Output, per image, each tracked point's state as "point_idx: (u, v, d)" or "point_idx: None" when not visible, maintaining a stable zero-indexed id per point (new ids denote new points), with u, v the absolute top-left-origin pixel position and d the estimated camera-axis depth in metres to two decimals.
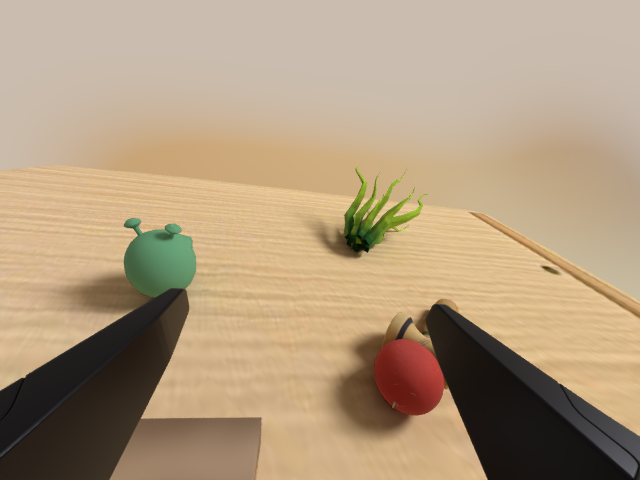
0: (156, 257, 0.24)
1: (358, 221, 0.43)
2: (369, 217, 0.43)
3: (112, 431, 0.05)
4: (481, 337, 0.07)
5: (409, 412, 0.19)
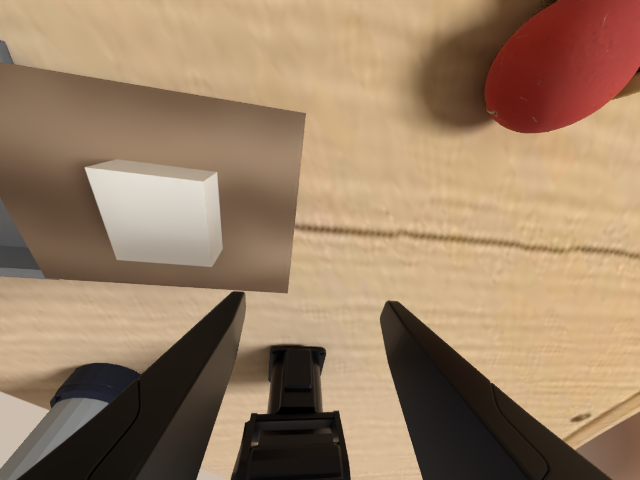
0: None
1: None
2: None
3: (202, 429, 0.05)
4: (423, 335, 0.07)
5: (504, 126, 0.14)
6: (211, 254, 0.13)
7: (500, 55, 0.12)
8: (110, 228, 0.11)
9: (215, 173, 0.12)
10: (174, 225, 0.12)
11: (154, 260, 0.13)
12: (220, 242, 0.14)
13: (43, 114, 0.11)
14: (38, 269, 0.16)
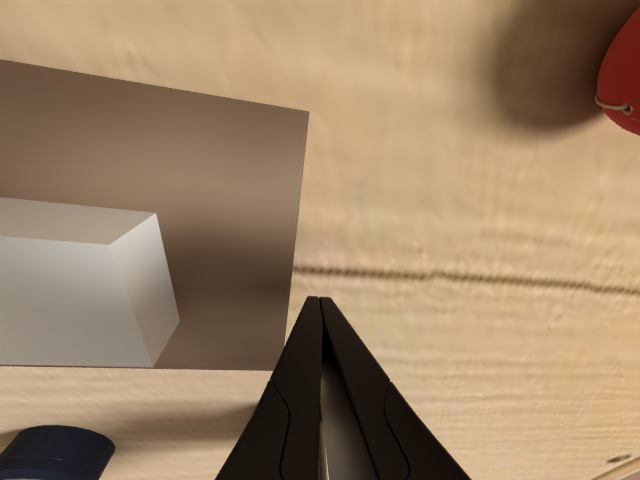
0: None
1: None
2: None
3: None
4: (340, 331, 0.06)
5: (633, 130, 0.09)
6: (150, 349, 0.08)
7: None
8: None
9: (151, 216, 0.07)
10: (72, 314, 0.06)
11: (51, 362, 0.07)
12: (173, 315, 0.09)
13: None
14: None
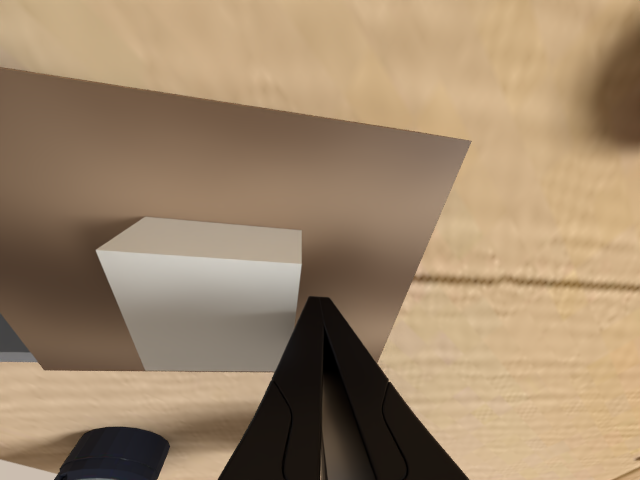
0: None
1: None
2: None
3: None
4: (339, 331, 0.06)
5: None
6: None
7: None
8: (137, 333, 0.07)
9: (301, 234, 0.08)
10: (241, 325, 0.07)
11: (203, 368, 0.08)
12: None
13: (34, 152, 0.06)
14: None
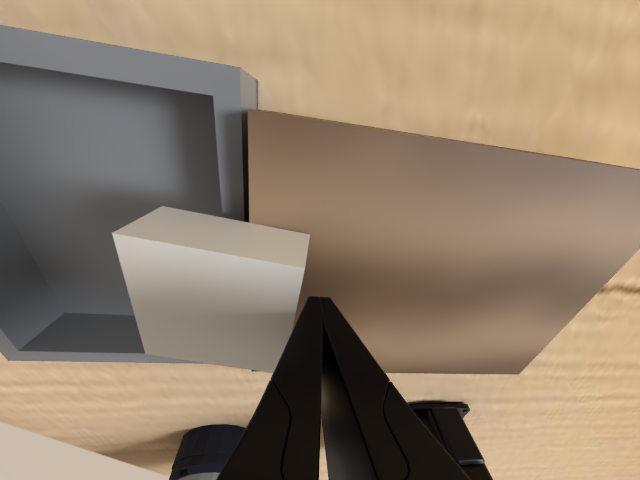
0: None
1: None
2: None
3: None
4: (339, 331, 0.06)
5: None
6: None
7: None
8: (142, 316, 0.07)
9: (309, 238, 0.08)
10: (240, 321, 0.07)
11: (200, 359, 0.08)
12: None
13: (366, 192, 0.07)
14: None
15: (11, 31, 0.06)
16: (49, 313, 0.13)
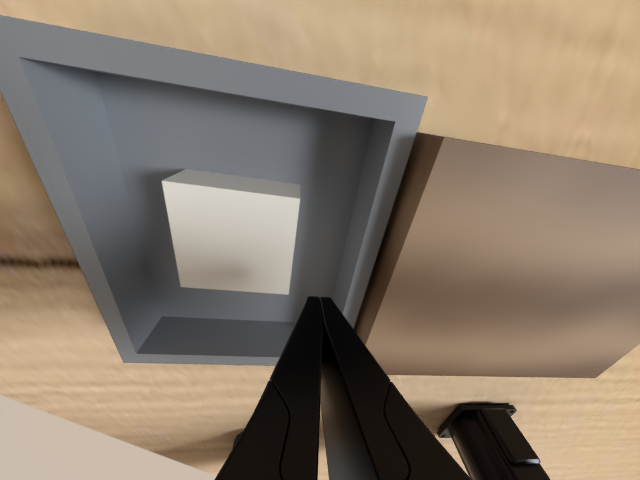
0: None
1: None
2: None
3: None
4: (340, 331, 0.06)
5: None
6: None
7: None
8: None
9: (165, 180, 0.08)
10: None
11: None
12: None
13: (520, 210, 0.08)
14: None
15: (240, 65, 0.06)
16: (154, 317, 0.13)
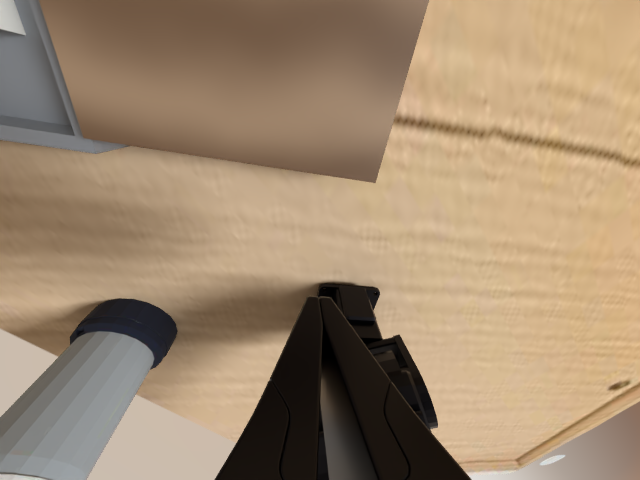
0: None
1: None
2: None
3: None
4: (340, 331, 0.06)
5: None
6: None
7: None
8: None
9: None
10: None
11: None
12: None
13: None
14: (71, 135, 0.12)
15: None
16: None
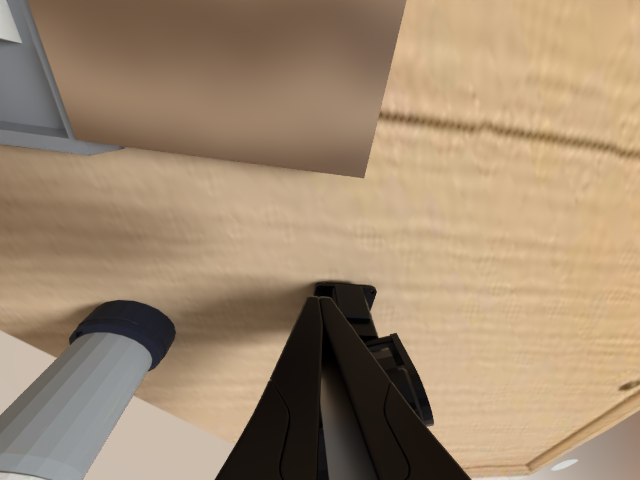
0: None
1: None
2: None
3: None
4: (340, 331, 0.06)
5: None
6: None
7: None
8: None
9: None
10: None
11: None
12: None
13: None
14: (65, 138, 0.13)
15: None
16: None
